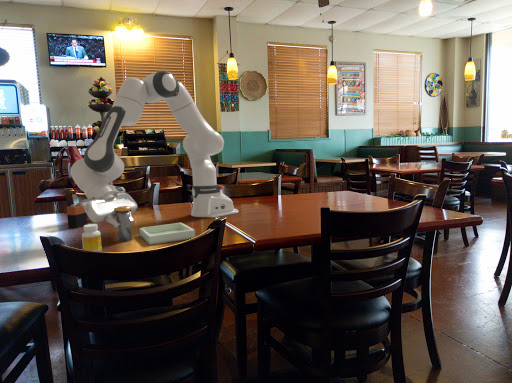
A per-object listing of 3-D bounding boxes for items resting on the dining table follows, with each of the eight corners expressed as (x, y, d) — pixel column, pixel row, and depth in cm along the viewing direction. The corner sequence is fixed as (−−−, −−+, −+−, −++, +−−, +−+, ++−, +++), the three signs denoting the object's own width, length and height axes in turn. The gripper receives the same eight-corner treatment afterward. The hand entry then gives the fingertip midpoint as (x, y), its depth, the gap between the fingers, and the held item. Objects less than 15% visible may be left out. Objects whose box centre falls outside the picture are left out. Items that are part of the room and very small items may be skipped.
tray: (181, 229, 150) (181, 222, 149) (195, 238, 136) (194, 229, 135) (140, 235, 142) (139, 227, 142) (150, 245, 128) (149, 236, 128)
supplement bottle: (82, 255, 119) (79, 225, 118) (99, 251, 122) (97, 222, 121) (85, 259, 115) (83, 227, 113) (104, 255, 118) (101, 225, 116)
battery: (88, 225, 166) (86, 202, 164) (75, 228, 159) (73, 205, 158) (80, 224, 167) (78, 202, 166) (67, 228, 161) (65, 204, 160)
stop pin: (131, 237, 140) (129, 205, 138) (134, 240, 135) (132, 207, 134) (115, 239, 137) (113, 207, 136) (118, 243, 132) (115, 209, 131)
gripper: (82, 194, 127) (107, 224, 125) (126, 187, 146) (148, 213, 143) (74, 206, 130) (98, 236, 127) (118, 198, 148) (140, 224, 146)
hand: (125, 224), depth 135 cm, fingers open, 5 cm apart
